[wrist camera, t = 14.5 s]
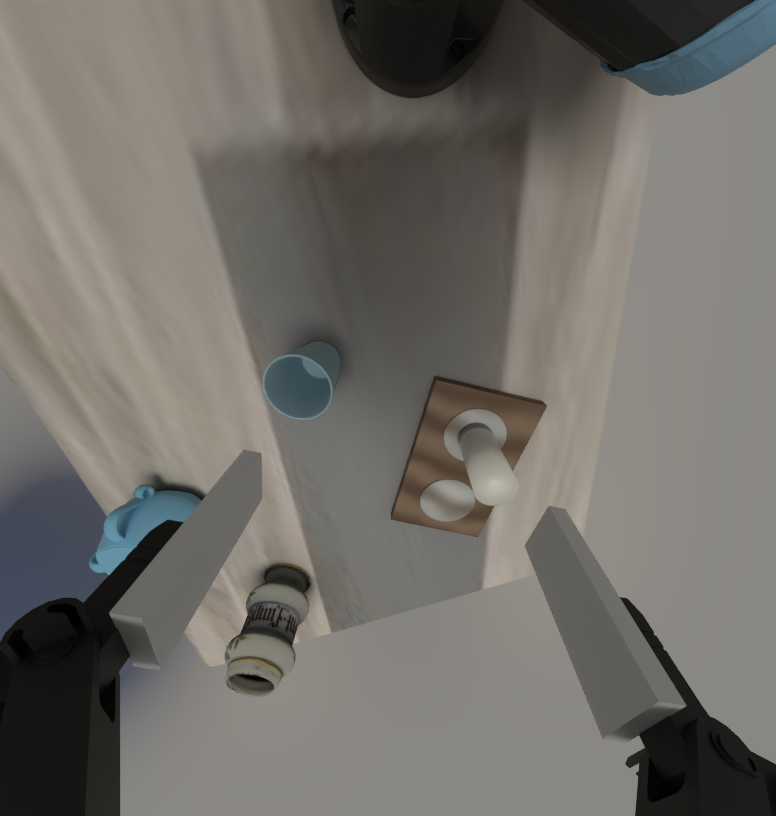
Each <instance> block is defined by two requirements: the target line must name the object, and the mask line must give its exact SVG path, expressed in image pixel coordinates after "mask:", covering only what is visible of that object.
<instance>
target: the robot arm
mask: <svg viewBox="0 0 776 816" xmlns="http://www.w3.org/2000/svg"><path fill="white" fill-rule="evenodd" d="M522 1H523V2H525V3H526V4H527V5H529V6H530V7H531V8H533V9H534V10H535V11H537V12H538V13H539V14H541V15H542V16H543V17H545V18H546V19H547V20H549V21H550V22H551V23H553V24H554V25H555V26H556V27H558V28H559V29H560V30H562V31H563V32H564V33H566V34H567V35H568V36H570V37H571V38H572V39H574V40H575V41H576V42H578V43H579V44H580V45H582V46H583V47H584V48H586V49H587V50H588V51H590V52H591V53H592V54H594V55H595V56H596V57H598V58H599V59H600V60H601V67H602V68H603V69H604V70H605V71H606V72H607V73H608V74H610V75H613V76H619V77H625V78H626V79H628V80H630V81H631V82H633V83H634V84H636V85H637V86H639V87H640V88H642V89H644V90H645V91H647V92H648V93H650V94H652V95H657V96H662V95H672V96H673V95H676V94H685V93H688V92H691V91H694V90H696V89H699V88H701V87H704V86H706V85H708V84H710V83H712V82H715V81H716V80H718V79H720V78H722V77H724V76H726V75H728V74H730V73H731V72H733V71H735V70H737V69H738V68H740V67H741V66H743V65H745V64H746V63H748V62H750V61H751V60H753V59H754V58H756V57H757V56H759V55H760V54H762V53H763V52H765V51H766V50H768V49H769V48H771V47H772V46H773V45H775V44H776V0H522ZM503 2H504V0H332V3H333V7H334V11H335V14H336V18H337V21H338V25H339V28H340V31H341V34H342V37H343V39H344V41H345V44H346V46H347V48H348V50H349V52H350V54H351V55H352V57H353V59H354V60H355V62H356V63H357V65H358V66H359V67H360V69H361V70H362V71H363V72H364V73H365V75H366V76H367V77H368V78H369V79H370V80H372V81H373V82H374V83H375V84H377V85H378V86H379V87H381V88H383V89H384V90H386V91H388V92H390V93H393V94H396V95H399V96H404V97H422V96H427V95H431V94H434V93H437V92H439V91H441V90H443V89H445V88H446V87H448V86H450V85H451V84H453V83H454V82H455V81H456V80H458V79H459V78H460V77H461V76H462V75H463V74H464V73H465V72H466V71H467V70H468V69H469V68H470V67H471V65H472V64H473V63H474V62H475V60H476V59H477V57H478V56H479V55H480V53H481V51H482V50H483V48H484V47H485V45H486V43H487V41H488V39H489V37H490V35H491V33H492V31H493V28H494V26H495V23H496V21H497V18H498V15H499V13H500V10H501V8H502V5H503ZM261 500H262V465H261V453H258V452H252V451H247V450H243V452H242V453H241V454H240V455H239V456H238V458H237V459H236V460H235V461H234V462H233V464H232V465H231V466H230V467H229V468H228V470H227V471H226V472H225V473H224V475H223V476H222V477H221V478H220V479H219V481H218V482H217V483H216V484H215V485H214V487H213V488H212V489H211V490H210V491H209V493H208V494H207V495H206V496H205V497H204V499H203V500H202V501H201V502H200V503H199V505H198V506H197V507H196V508H195V510H194V511H193V512H192V513H191V514H190V516H189V517H188V518H187V519H186V520H185V522H180V521H174V520H168V519H167V520H166V521H164V522H163V523H161V524H160V525H158V526H157V527H155V528H154V529H152V530H151V531H150V532H149V533H148V534H147V535H146V536H145V537H144V538H143V539H142V540H141V541H140V542H139V543H138V544H137V547H136V548H134V549H133V550H132V551H131V552H130V553H129V554H128V555H127V556H126V559H125V560H123V561H122V562H121V563H120V564H119V565H118V566H117V567H116V568H115V569H114V570H113V572H112V573H111V574H110V575H109V576H108V577H107V578H106V579H105V580H104V581H103V582H102V584H100V586H99V587H98V588H97V589H96V590H95V591H94V592H93V593H92V594H91V595H90V596H89V597H88V599H87V600H86V601H85V602H84V603H83V602H81V601H79V600H78V599H76V598H61V599H57V600H53V601H49V602H47V603H45V604H43V605H41V606H39V607H37V608H35V609H33V610H31V611H30V612H29V613H27V614H26V615H24V616H23V617H22V618H20V619H19V620H17V621H16V622H15V623H14V625H13V626H12V627H11V628H10V629H9V630H8V631H7V632H6V633H5V635H4V636H3V638H2V640H1V642H0V816H120V675H119V671H120V669H121V668H122V667H123V665H124V664H125V662H126V661H127V659H128V658H129V657H130V659H131V661H132V664H133V666H137V667H143V668H150V669H156V670H161V669H162V668H163V666H164V664H165V662H166V661H167V659H168V657H169V656H170V654H171V652H172V651H173V649H174V647H175V646H176V644H177V642H178V640H179V639H180V637H181V635H182V634H183V632H184V630H185V629H186V627H187V625H188V624H189V622H190V620H191V618H192V617H193V615H194V613H195V612H196V610H197V608H198V607H199V605H200V603H201V601H202V600H203V598H204V596H205V595H206V593H207V591H208V590H209V588H210V586H211V585H212V583H213V581H214V579H215V578H216V576H217V574H218V573H219V571H220V569H221V568H222V566H223V564H224V562H225V561H226V559H227V557H228V556H229V554H230V552H231V551H232V549H233V547H234V545H235V544H236V542H237V540H238V539H239V537H240V535H241V534H242V532H243V530H244V529H245V527H246V525H247V523H248V522H249V520H250V518H251V517H252V515H253V513H254V512H255V510H256V508H257V506H258V505H259V503H260V501H261ZM525 548H526V550H527V553H528V555H529V558H530V560H531V562H532V565H533V567H534V570H535V572H536V575H537V577H538V580H539V582H540V585H541V587H542V590H543V592H544V595H545V597H546V599H547V602H548V605H549V607H550V610H551V612H552V614H553V617H554V619H555V622H556V624H557V627H558V629H559V632H560V634H561V637H562V639H563V642H564V644H565V646H566V649H567V651H568V654H569V657H570V659H571V662H572V664H573V666H574V669H575V671H576V674H577V676H578V679H579V681H580V684H581V686H582V689H583V691H584V694H585V696H586V698H587V701H588V704H589V706H590V708H591V711H592V713H593V716H594V718H595V721H596V723H597V726H598V728H599V731H600V733H601V736H602V738H603V739H608V740H614V741H621V742H629V741H630V740H632V739H633V738H635V737H637V736H638V735H639V736H640V738H641V740H642V742H643V744H644V746H645V748H644V749H642V750H640V751H638V752H637V753H635V754H633V755H632V756H630V757H628V759H627V761H626V765H627V766H628V767H629V768H631V767H632V766H634V765H636V764H638V763H639V771H638V772H637V773H636V775H637V776H638V789H637V801H636V813H635V816H776V764H774V763H772V762H770V761H768V760H766V759H764V758H763V757H761V756H759V755H757V754H755V753H753V752H751V751H750V750H749V749H748V748H747V746H746V745H745V744H744V743H743V742H742V741H741V739H740V738H739V737H738V736H737V735H735V733H734V732H732V731H731V730H730V729H729V728H728V727H727V726H726V725H724V724H722V723H721V722H719V721H718V720H716V719H715V718H712V717H710V716H709V715H708V714H707V712H706V711H705V709H704V708H703V707H702V705H701V704H700V702H699V701H698V699H697V698H696V696H695V694H694V693H693V691H692V690H691V688H690V687H689V685H688V684H687V682H686V681H685V679H684V678H683V676H682V674H681V673H680V671H679V670H678V669H677V667H676V665H675V664H674V662H673V661H672V659H671V658H670V656H669V655H668V653H667V651H665V650H664V649H663V645H662V644H661V642H660V641H659V639H658V638H657V636H655V635H654V632H653V630H652V629H651V627H650V626H649V624H648V622H647V621H646V619H645V618H644V616H643V615H642V614H641V613H640V611H638V609H637V608H636V607H635V606H634V605H633V604H632V603H631V602H630V601H629V600H628V599H627V598H621V597H619V596H618V594H617V592H616V591H615V589H614V588H613V586H612V584H611V583H610V581H609V579H608V578H607V576H606V575H605V573H604V571H603V570H602V568H601V567H600V565H599V563H598V562H597V560H596V558H595V557H594V555H593V554H592V552H591V550H590V549H589V547H588V546H587V544H586V542H585V541H584V539H583V537H582V536H581V534H580V533H579V531H578V529H577V528H576V526H575V525H574V523H573V521H572V520H571V518H570V516H569V515H568V513H567V512H566V510H565V509H562V508H557V507H551V506H549V507H548V508H547V510H546V511H545V513H544V515H543V516H542V518H541V520H540V521H539V523H538V524H537V526H536V528H535V529H534V531H533V533H532V534H531V536H530V538H529V539H528V541H527V542H526V544H525Z"/></svg>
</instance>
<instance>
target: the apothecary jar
mask: <svg viewBox="0 0 776 816" xmlns="http://www.w3.org/2000/svg"><path fill="white" fill-rule="evenodd" d="M309 579H310V577H309V575H308V574H307V573H306V572H305V571H304V570H303V569H301V568H299V567H297V566H294V565H291V564H276V565H273V566H271V567H269V568H268V569H267V570H266V572H265V581H266V583H264V584H262V585H260V586H258V587H256V588H255V589H254V590H252V592H251V593H250V594H249V596H248V599H247V602H246V609H247V613H248V616H247V618H246V621H245V624H244V626H243V629H242V631H241V633H240V635H238V636H236V637H235V638H234V639H232V640H231V642H230V643H229V644H228V646H227V648H226V651H225V663H226V665H227V667H228V669H227V674H226V677H225V685H226V686H227V687H228V688H229V689H230V690H232V691H233V692H236V693H238V694H241V695H245V696H250V697H264V696H269V695H271V694H273V693H274V692H275V691H276V689H277V687H278V685H279V682H280V681H281V679H282V678H284V677H285V676H286V675H288V673H289V672H290V671H291V670H292V668H293V666H294V662H295V652H294V649H293V647H292V645H293V641H294V637H295V634H296V630H297V627H298V625H300V624H301V623H302V622H303V621H304V620H305V618H306V616H307V614H308V611H309V603H308V600H307V598H306V596H305V594H304V592H305V591H306V590H308V588H309V587H310V582H309Z"/></svg>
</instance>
